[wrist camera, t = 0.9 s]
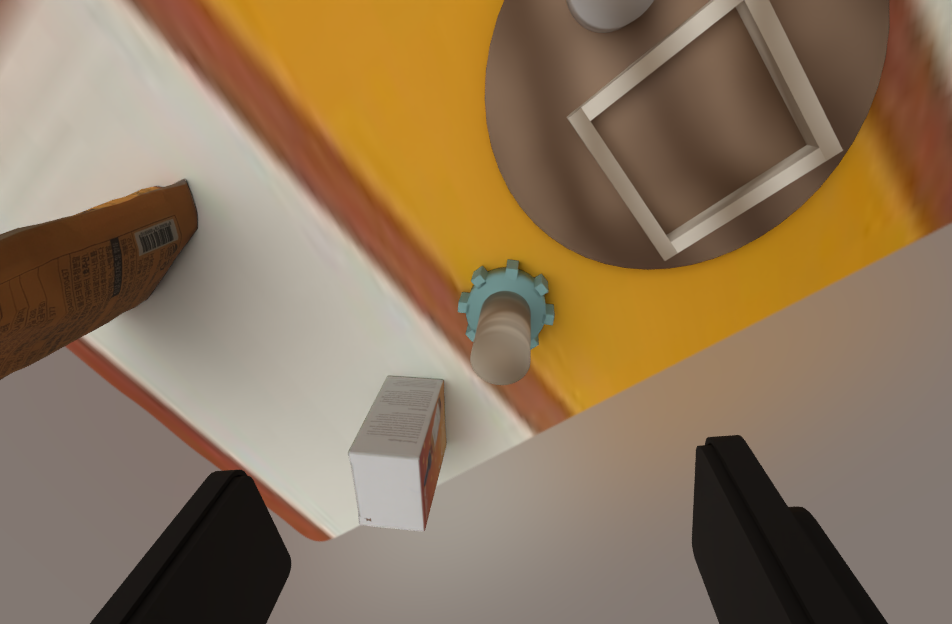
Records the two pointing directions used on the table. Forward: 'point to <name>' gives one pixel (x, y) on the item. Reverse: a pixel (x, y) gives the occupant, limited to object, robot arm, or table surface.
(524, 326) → the gear
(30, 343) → the pancake mix bag
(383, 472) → the small box
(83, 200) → the table surface
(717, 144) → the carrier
